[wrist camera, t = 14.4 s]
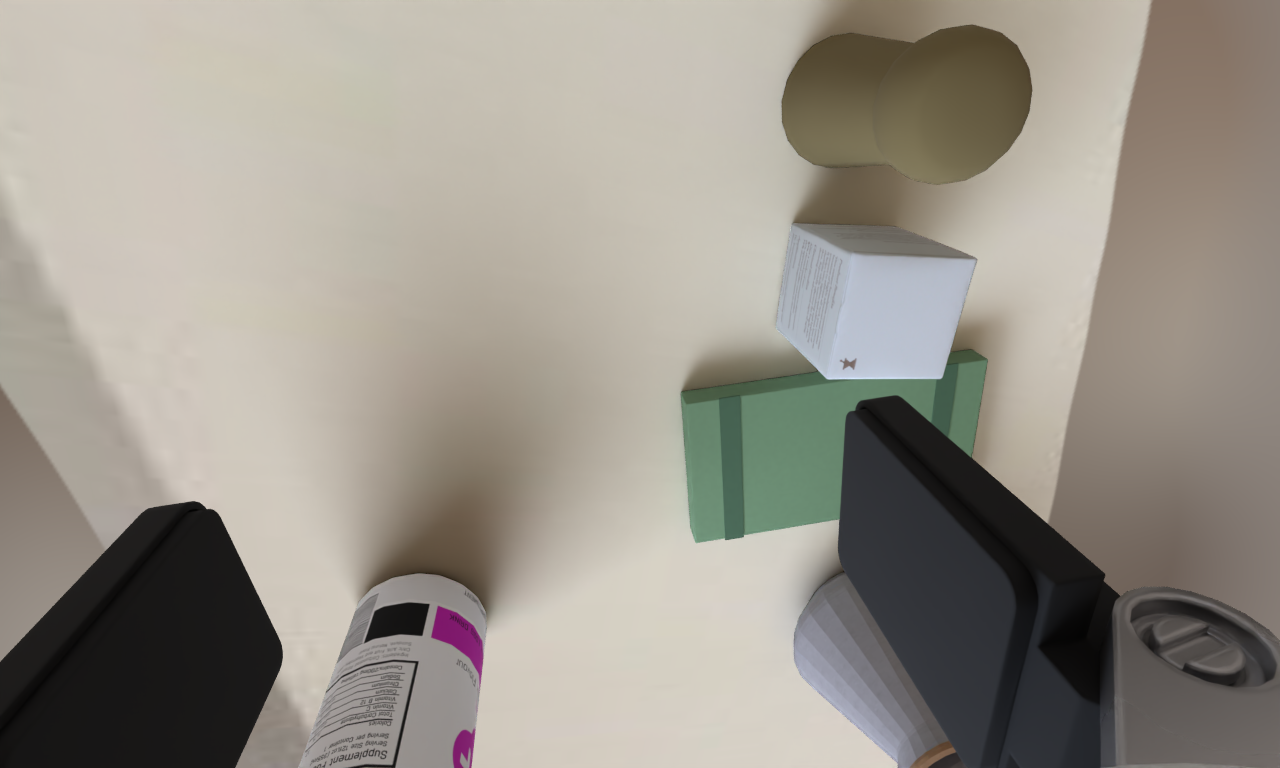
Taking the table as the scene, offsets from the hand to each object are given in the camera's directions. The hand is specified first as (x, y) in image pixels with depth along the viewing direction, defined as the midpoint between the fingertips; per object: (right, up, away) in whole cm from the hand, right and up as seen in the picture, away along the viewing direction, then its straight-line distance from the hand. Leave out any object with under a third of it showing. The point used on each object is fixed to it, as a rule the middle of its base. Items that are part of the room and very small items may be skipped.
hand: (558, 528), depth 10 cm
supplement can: (-13, -13, +31) cm, 36 cm away
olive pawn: (+11, +16, +21) cm, 29 cm away
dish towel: (+13, -1, +30) cm, 32 cm away
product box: (+12, +8, +25) cm, 29 cm away
